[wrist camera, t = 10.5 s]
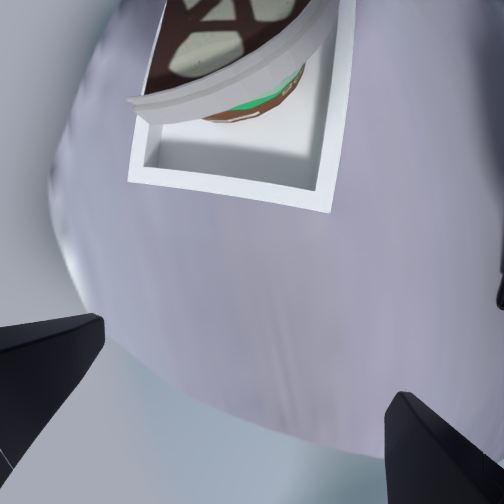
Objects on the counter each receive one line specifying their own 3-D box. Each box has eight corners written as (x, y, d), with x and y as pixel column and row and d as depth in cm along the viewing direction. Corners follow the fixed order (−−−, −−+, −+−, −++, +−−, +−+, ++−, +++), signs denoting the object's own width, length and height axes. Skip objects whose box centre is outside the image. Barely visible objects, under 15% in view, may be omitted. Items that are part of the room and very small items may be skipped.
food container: (311, 160, 17) (328, 135, 7) (210, 145, 17) (121, 116, 8) (332, -4, 14) (345, -104, 4) (242, -13, 14) (204, -107, 5)
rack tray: (352, -22, 13) (356, -40, 11) (325, 209, 18) (330, 213, 16) (195, -31, 15) (185, -47, 12) (146, 180, 19) (127, 181, 17)
